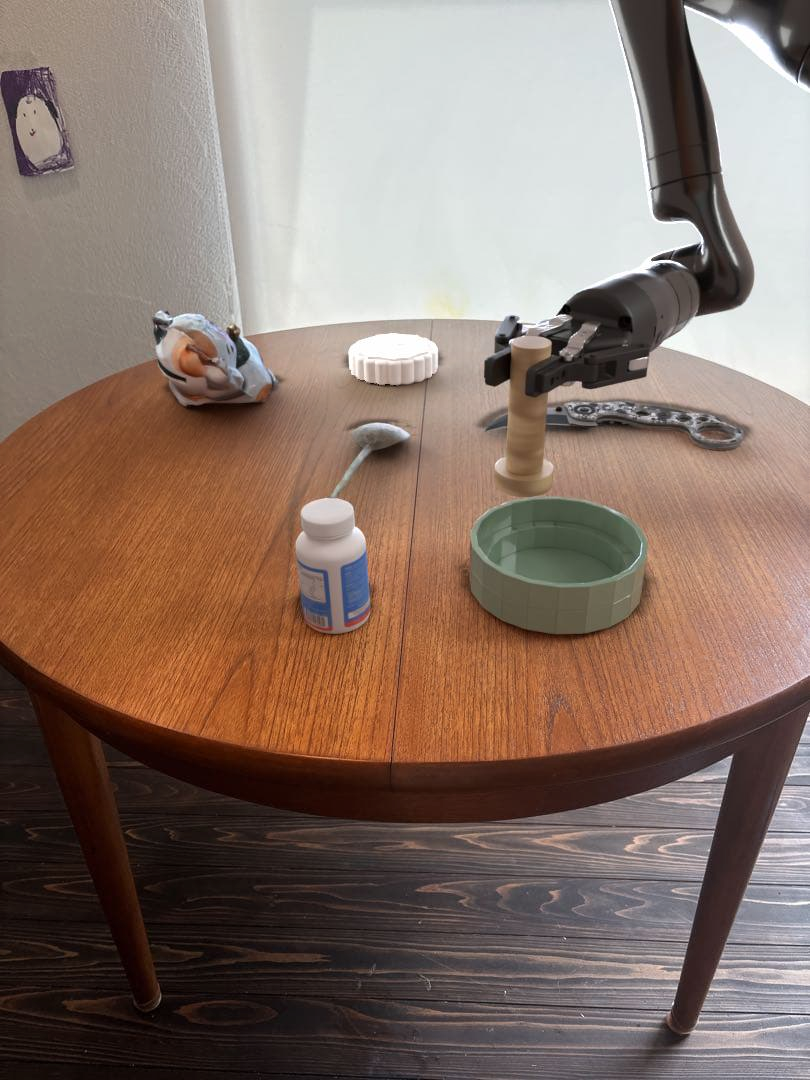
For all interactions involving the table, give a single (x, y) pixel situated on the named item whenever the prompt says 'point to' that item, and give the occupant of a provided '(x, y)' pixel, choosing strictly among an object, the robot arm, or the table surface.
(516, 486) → the muddler
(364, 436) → the soupspoon
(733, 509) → the table surface
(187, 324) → the lucky cat figurine
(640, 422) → the knife
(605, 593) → the bowl
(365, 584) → the pill bottle
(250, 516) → the table surface
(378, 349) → the mooncake
